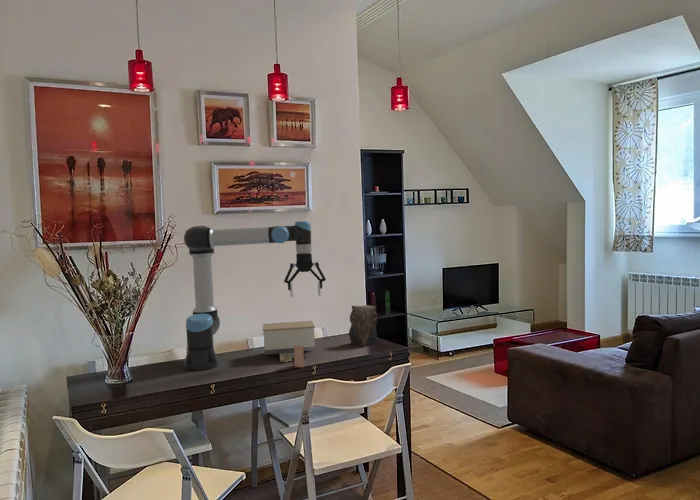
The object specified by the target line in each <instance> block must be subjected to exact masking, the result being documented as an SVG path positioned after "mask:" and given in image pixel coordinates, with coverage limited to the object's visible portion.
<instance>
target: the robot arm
mask: <svg viewBox="0 0 700 500" xmlns="http://www.w3.org/2000/svg"><path fill="white" fill-rule="evenodd" d="M311 226H312V225H311V222H310V221H308V220H302V221H295V222H294V225H274V226H266V227H265V226H264V227H243V228H225V229H214V228H213V227H208V226H205V225H197V226H196V225H195V226H191V227H190V228H188V229H187V230H186V231H185V233H184V236H183V242H184V245H185V246H186V247H187V248H188V253H189V256H190V257H191V258H192V265H193V266H192V267H193V284H194V286H193V287H194V299H195V302H194V303H195V308H194V309H193V310H192V315H189V316H188V317H187V318H186V320H185V330H186V344H187V345H186V346H187V347H186V348H187V351H186V355H185V359H184V363H183V364H184V365H183V366H184V367H183V368H184V370H186V371H187V370H188V371H203V370H204V371H205V370H210V369H213V368H216V367H217V366H219V360H218V359H219V358H218V356H217V354H216V351H215V349H214V348H215V347H214V335H216V333H217V332H218V331H219V329H220V326H221V320H220V317H219V315H218V314H219V313H218V307H216V306H215V303H214V301H215V300H214V286H213V281H214V280H213V267H212V265H213V264H212V256H213V255H215V247H222V246H224V247H225V246H241V245H261V244H262V245H263V244H285V242H295V252H296V255H295V256H296V262H295V263H292V262H291V263H289V269H288V271H287V273H286V276H285V277H284V279H283V282H284V283H286V284H287V289H288V291H289V292H290V298H293V283H292V282H293V281H294V279H295V278H296V277H297V275H298V274H300V272H301V273H308V272H310V273H311V274H312V275H313V276H314V277H315V278H316V279H317V280H318V281H317V292H318V293H317V295H318V296H319V297H320V296H321V289H323V282H326V280H327V279H326V277H325V275H324V273H323V272H322V269H321V267H320V264H319V262H318V261H316V262H313V256H312V255H313V254H312V228H311ZM313 266H314V267H315V268H316V269H317V271H318V274H319V275H320V276H319V275H318V274H317V273H316V272H315V270H313V269H312V267H313ZM295 267H296V268H297V269H296V270H295V271H294V273H293V274H292V276H291V277H290V275H291V273H292V271H293V269H295ZM289 277H290V279H289Z"/></svg>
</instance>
